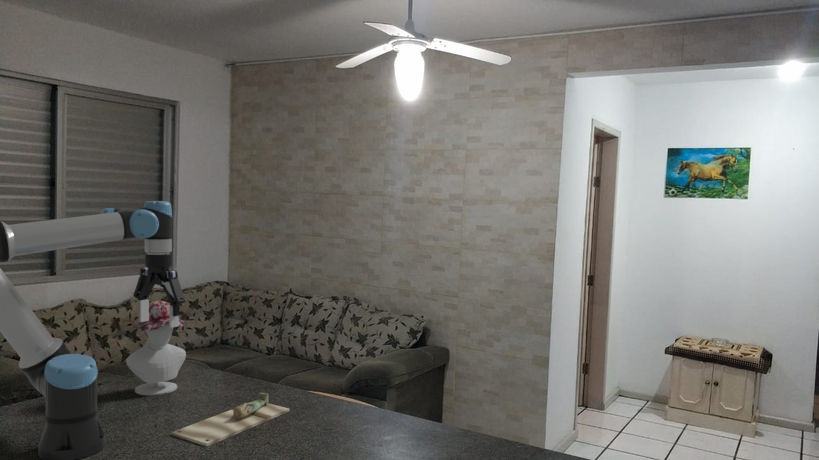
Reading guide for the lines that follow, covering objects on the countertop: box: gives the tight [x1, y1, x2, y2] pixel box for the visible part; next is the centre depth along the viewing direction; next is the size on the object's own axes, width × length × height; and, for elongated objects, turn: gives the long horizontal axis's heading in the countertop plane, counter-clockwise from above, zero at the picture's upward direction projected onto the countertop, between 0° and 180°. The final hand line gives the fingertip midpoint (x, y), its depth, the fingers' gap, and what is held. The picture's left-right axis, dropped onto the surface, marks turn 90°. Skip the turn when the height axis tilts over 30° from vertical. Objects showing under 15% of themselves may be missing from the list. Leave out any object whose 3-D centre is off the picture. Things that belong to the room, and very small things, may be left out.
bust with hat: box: [125, 300, 187, 396], centre depth 210 cm, size 19×18×30 cm
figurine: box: [233, 392, 269, 418], centre depth 189 cm, size 6×15×4 cm, turn 153°
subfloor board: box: [170, 399, 291, 447], centre depth 183 cm, size 32×14×1 cm, turn 149°
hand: (158, 324), depth 189 cm, fingers open, 13 cm apart
